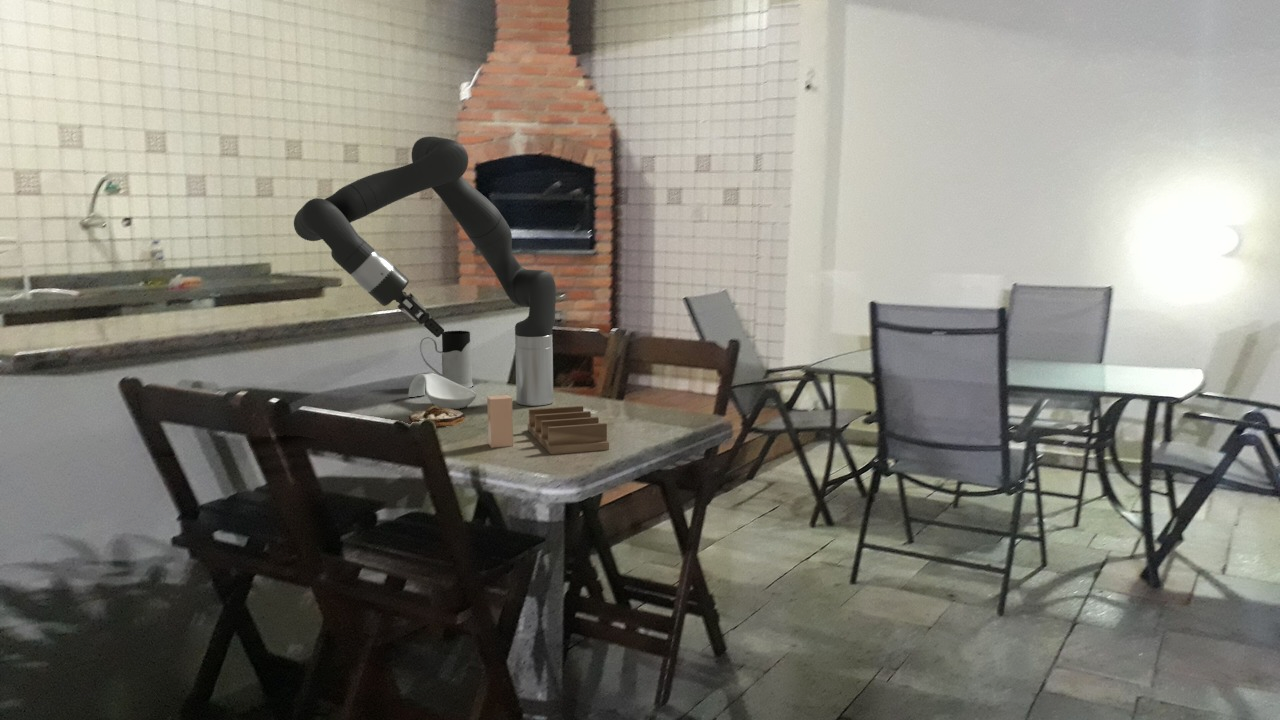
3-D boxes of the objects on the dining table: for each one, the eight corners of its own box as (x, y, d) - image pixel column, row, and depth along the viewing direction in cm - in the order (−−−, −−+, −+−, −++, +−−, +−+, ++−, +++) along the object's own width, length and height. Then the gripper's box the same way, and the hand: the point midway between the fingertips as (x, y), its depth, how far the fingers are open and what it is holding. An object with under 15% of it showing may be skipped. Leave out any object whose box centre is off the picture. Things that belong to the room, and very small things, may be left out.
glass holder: (470, 389, 253) (469, 334, 251) (418, 389, 253) (416, 334, 251) (476, 383, 262) (474, 330, 260) (424, 383, 262) (422, 330, 259)
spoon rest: (485, 408, 230) (485, 379, 229) (444, 415, 223) (443, 385, 221) (434, 394, 247) (434, 368, 246) (394, 400, 240) (393, 373, 238)
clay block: (488, 443, 195) (487, 396, 193) (509, 442, 196) (508, 394, 194) (491, 447, 191) (490, 399, 190) (513, 445, 193) (512, 398, 191)
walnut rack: (527, 430, 206) (527, 407, 206) (580, 426, 210) (580, 404, 210) (550, 454, 186) (550, 429, 185) (609, 449, 190) (608, 425, 189)
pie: (459, 414, 225) (458, 397, 224) (478, 427, 212) (477, 408, 211) (397, 420, 218) (396, 402, 217) (412, 433, 205) (411, 415, 204)
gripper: (395, 266, 184) (456, 322, 190) (390, 262, 198) (446, 315, 203) (368, 294, 184) (430, 349, 189) (365, 288, 197) (422, 340, 202)
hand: (438, 331), depth 196 cm, fingers open, 8 cm apart
